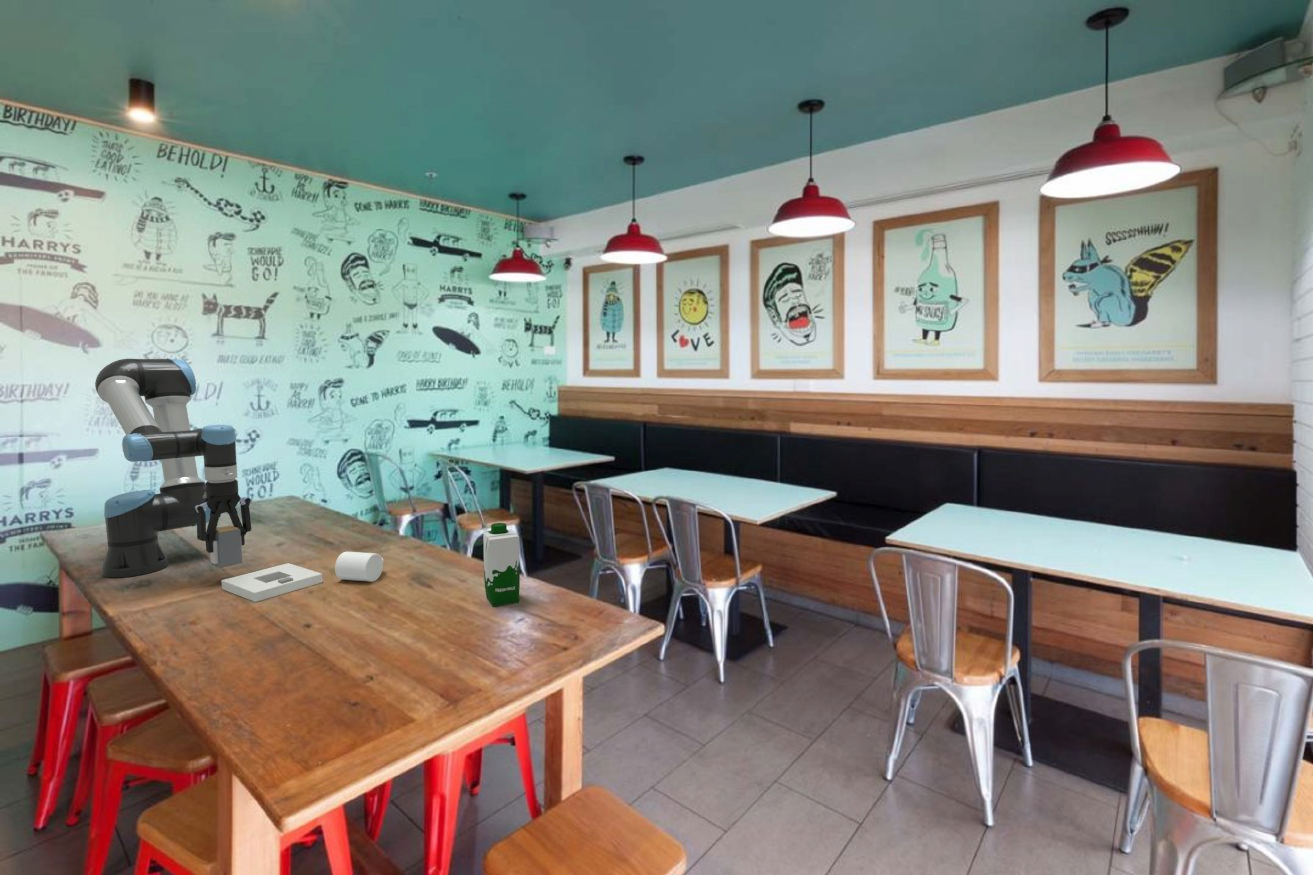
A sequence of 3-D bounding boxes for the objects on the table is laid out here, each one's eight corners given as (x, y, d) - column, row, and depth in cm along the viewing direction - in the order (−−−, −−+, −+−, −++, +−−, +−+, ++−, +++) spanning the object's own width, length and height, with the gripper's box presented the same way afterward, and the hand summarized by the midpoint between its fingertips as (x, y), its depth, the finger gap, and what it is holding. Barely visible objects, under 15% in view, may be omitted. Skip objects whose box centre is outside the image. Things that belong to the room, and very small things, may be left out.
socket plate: (222, 588, 173) (221, 578, 173) (288, 571, 188) (288, 561, 188) (255, 602, 164) (254, 590, 163) (322, 582, 179) (322, 571, 178)
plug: (211, 564, 178) (209, 528, 177) (232, 559, 183) (230, 524, 181) (220, 568, 175) (218, 532, 174) (242, 562, 180) (240, 527, 178)
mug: (366, 585, 176) (364, 558, 176) (335, 583, 178) (333, 555, 177) (392, 572, 188) (391, 546, 187) (362, 569, 190) (361, 544, 189)
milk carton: (514, 592, 172) (512, 520, 169) (523, 603, 164) (522, 528, 161) (482, 597, 168) (480, 524, 165) (489, 609, 160) (487, 532, 157)
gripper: (189, 487, 166) (195, 571, 169) (263, 476, 182) (267, 554, 185) (176, 483, 170) (182, 566, 173) (250, 473, 186) (254, 549, 189)
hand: (226, 559), depth 179 cm, fingers closed on plug, 5 cm apart
